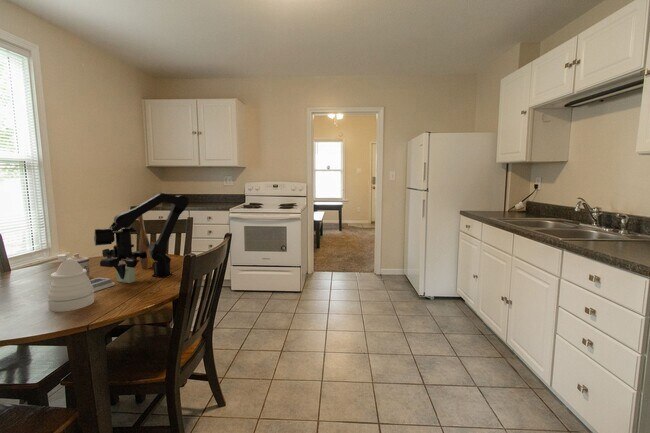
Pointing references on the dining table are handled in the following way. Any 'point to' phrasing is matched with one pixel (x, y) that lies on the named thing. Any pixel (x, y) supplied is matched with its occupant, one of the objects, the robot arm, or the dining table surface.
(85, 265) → the teacup with lid
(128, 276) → the pale green block
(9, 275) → the dining table surface
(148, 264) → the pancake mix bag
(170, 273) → the robot arm
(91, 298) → the honey pot
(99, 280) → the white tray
